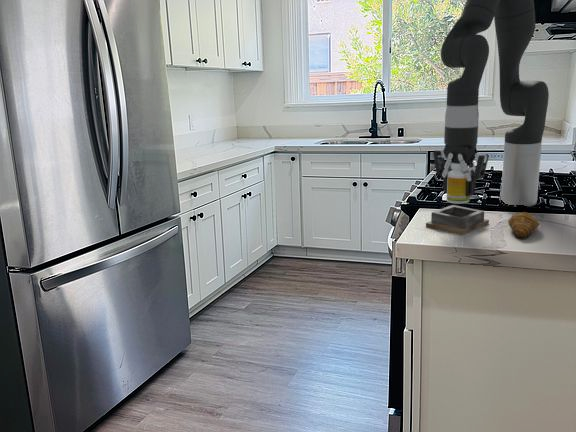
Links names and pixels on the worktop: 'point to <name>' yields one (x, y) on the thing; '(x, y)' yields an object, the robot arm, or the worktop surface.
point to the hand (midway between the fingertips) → (458, 193)
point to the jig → (457, 219)
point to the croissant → (523, 224)
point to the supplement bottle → (457, 185)
